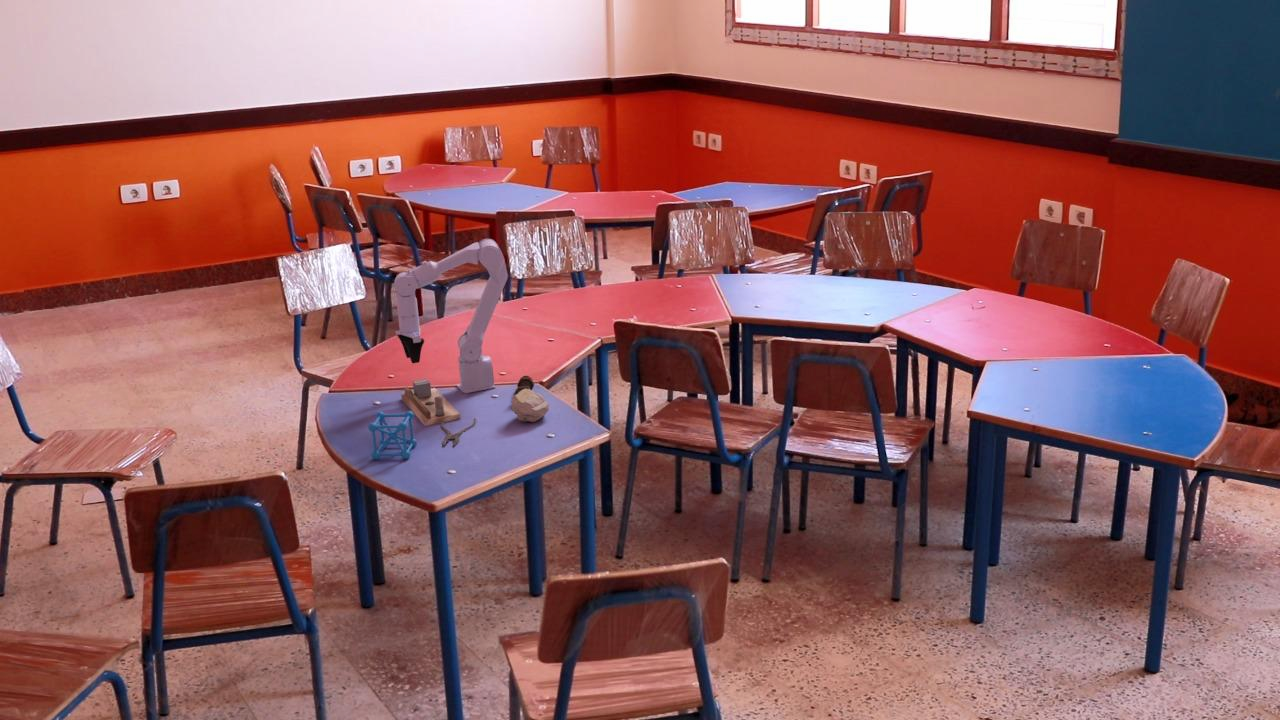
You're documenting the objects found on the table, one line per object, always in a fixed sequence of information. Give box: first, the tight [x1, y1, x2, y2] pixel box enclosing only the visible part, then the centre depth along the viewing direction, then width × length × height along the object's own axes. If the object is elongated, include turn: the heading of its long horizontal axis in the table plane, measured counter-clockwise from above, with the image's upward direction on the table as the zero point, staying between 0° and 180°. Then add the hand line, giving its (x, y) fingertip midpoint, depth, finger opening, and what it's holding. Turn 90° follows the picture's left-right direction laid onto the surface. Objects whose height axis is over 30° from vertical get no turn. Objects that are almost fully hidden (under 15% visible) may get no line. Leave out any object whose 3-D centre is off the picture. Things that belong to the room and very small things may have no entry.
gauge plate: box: [400, 386, 461, 427], centre depth 344 cm, size 10×24×6 cm, turn 25°
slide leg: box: [412, 378, 432, 398], centre depth 350 cm, size 4×4×4 cm
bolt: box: [513, 375, 535, 396], centre depth 352 cm, size 6×5×15 cm
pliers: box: [440, 417, 477, 448], centre depth 328 cm, size 10×1×20 cm
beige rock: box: [511, 389, 550, 423], centre depth 334 cm, size 12×8×10 cm
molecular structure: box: [367, 410, 418, 461], centre depth 315 cm, size 10×10×10 cm
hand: (413, 359), depth 354 cm, fingers open, 5 cm apart
